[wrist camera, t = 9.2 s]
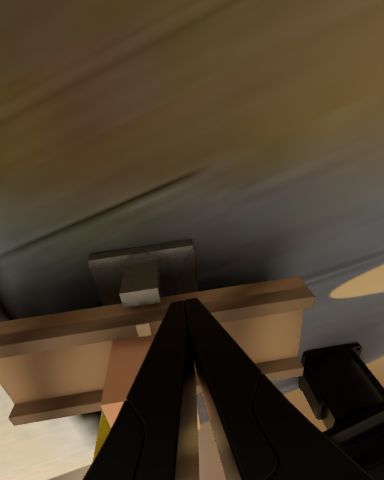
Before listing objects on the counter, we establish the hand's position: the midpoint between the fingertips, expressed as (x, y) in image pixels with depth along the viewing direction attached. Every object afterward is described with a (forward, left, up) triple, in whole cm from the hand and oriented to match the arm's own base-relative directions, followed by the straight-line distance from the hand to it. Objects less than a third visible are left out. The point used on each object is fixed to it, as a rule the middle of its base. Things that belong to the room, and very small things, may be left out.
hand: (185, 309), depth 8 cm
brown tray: (+3, +10, -8) cm, 13 cm away
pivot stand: (+3, +10, -12) cm, 16 cm away
